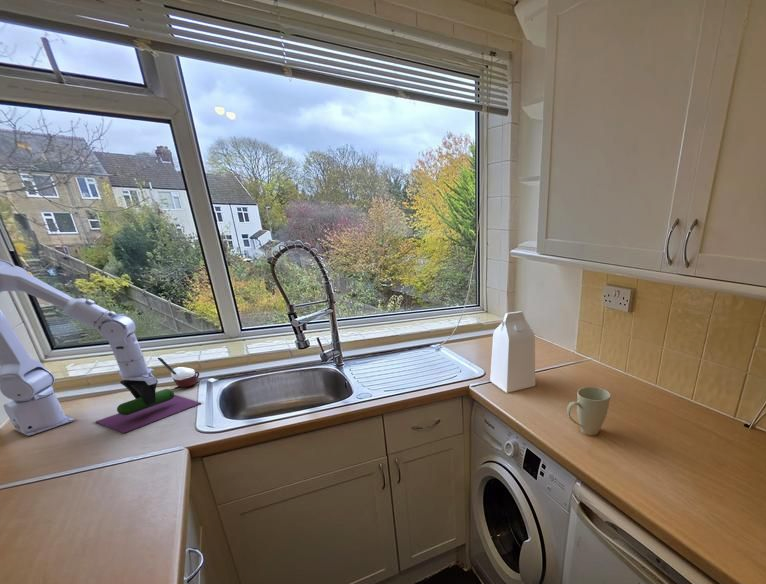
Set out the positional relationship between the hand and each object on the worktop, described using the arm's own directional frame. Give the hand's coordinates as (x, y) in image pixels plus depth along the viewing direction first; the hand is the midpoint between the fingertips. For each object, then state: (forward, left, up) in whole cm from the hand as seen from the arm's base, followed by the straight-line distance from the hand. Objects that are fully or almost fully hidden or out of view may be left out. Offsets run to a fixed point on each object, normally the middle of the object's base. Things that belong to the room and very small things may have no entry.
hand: (147, 402), depth 119 cm
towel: (0, 0, -3) cm, 3 cm away
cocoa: (+16, +11, -4) cm, 20 cm away
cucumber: (0, 0, -2) cm, 2 cm away
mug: (+46, -121, -4) cm, 130 cm away
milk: (+68, -88, -4) cm, 111 cm away
